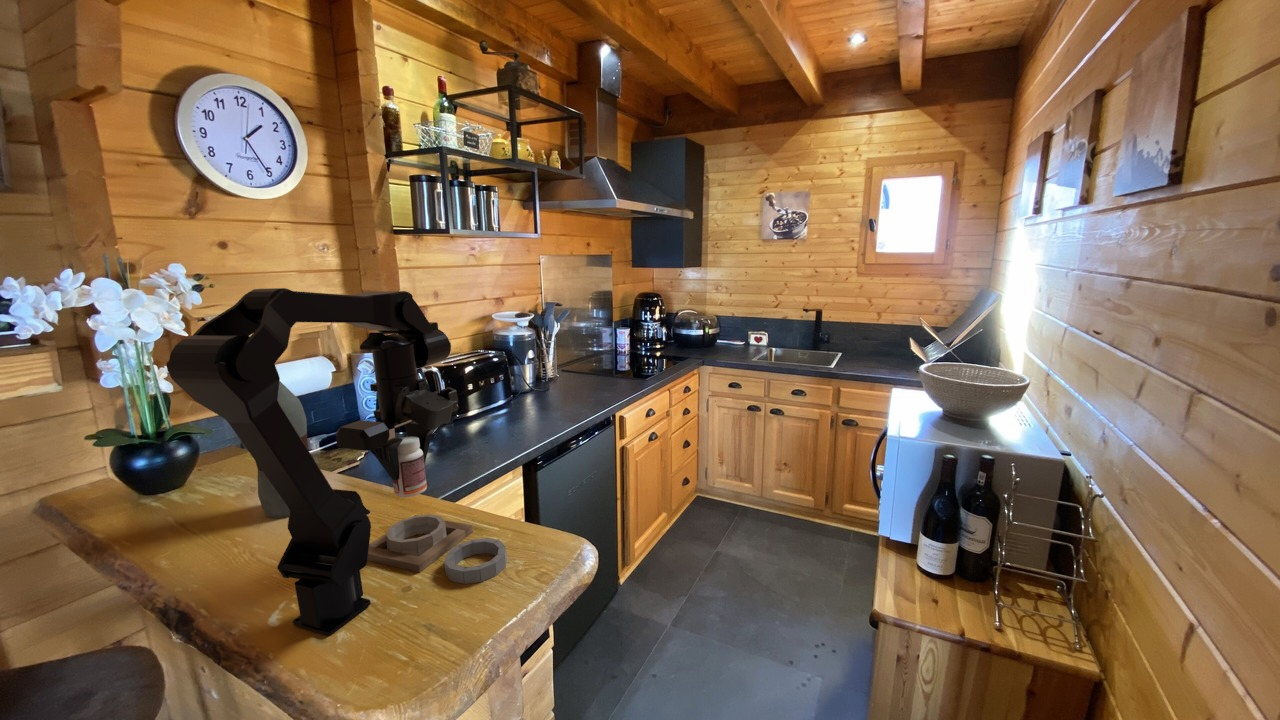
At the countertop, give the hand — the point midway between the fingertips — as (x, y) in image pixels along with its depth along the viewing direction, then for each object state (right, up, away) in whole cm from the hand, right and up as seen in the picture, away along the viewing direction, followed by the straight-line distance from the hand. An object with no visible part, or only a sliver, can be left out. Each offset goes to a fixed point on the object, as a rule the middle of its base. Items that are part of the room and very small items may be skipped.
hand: (408, 473), depth 82 cm
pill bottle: (0, -3, +1) cm, 3 cm away
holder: (+12, -13, -4) cm, 18 cm away
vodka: (-29, -10, +17) cm, 35 cm away
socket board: (0, -12, +3) cm, 12 cm away
